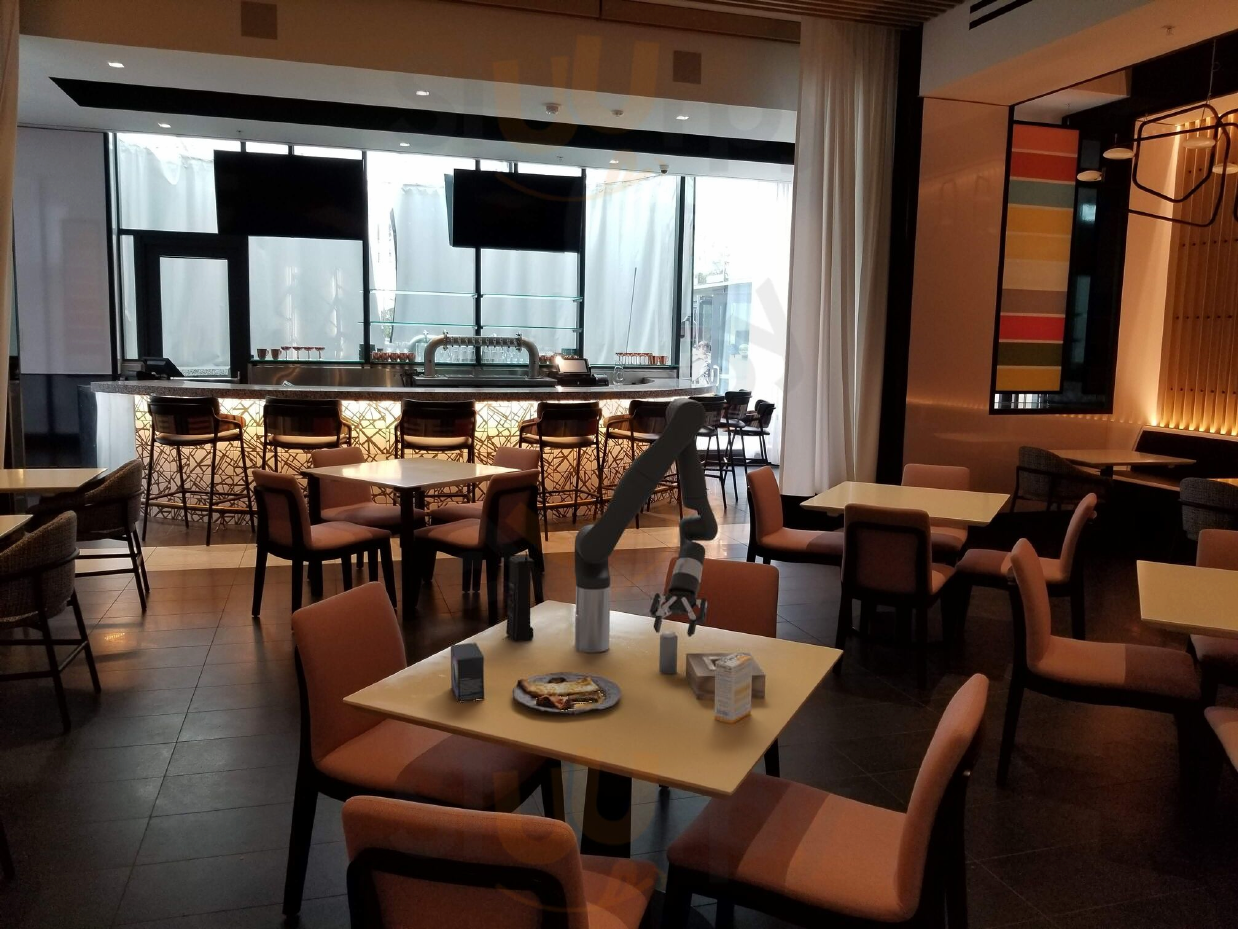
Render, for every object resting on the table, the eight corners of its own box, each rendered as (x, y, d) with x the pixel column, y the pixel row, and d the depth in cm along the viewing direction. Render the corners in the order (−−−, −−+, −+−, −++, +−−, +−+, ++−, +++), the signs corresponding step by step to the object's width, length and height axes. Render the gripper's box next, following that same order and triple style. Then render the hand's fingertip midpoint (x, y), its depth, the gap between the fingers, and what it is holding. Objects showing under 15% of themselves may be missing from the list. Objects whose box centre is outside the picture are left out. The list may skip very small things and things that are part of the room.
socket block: (696, 699, 208) (697, 674, 207) (685, 674, 224) (686, 652, 223) (764, 697, 209) (765, 673, 209) (748, 674, 225) (749, 651, 224)
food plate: (520, 722, 193) (521, 706, 192) (504, 685, 215) (505, 671, 215) (632, 715, 199) (633, 699, 199) (605, 680, 222) (606, 666, 221)
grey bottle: (660, 674, 224) (661, 635, 223) (658, 668, 228) (659, 629, 227) (677, 674, 224) (678, 635, 223) (675, 668, 229) (676, 629, 227)
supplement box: (733, 708, 203) (734, 651, 201) (751, 713, 200) (753, 656, 198) (712, 719, 197) (714, 661, 195) (731, 725, 193) (733, 666, 192)
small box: (449, 687, 213) (449, 644, 212) (476, 684, 215) (476, 641, 214) (456, 703, 203) (456, 658, 202) (485, 700, 205) (485, 655, 204)
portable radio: (504, 634, 254) (504, 547, 251) (524, 632, 256) (524, 546, 253) (513, 642, 247) (513, 553, 244) (533, 640, 249) (534, 551, 246)
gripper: (657, 568, 237) (643, 623, 228) (710, 573, 233) (697, 629, 223) (663, 584, 243) (649, 637, 234) (714, 589, 238) (702, 643, 229)
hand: (673, 633), depth 228 cm, fingers open, 8 cm apart
